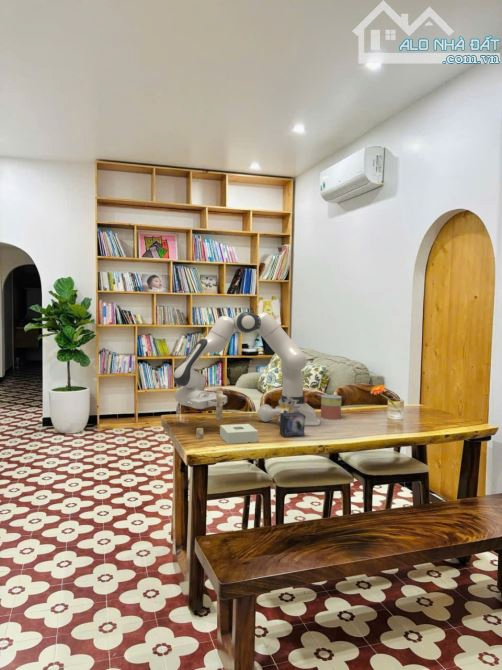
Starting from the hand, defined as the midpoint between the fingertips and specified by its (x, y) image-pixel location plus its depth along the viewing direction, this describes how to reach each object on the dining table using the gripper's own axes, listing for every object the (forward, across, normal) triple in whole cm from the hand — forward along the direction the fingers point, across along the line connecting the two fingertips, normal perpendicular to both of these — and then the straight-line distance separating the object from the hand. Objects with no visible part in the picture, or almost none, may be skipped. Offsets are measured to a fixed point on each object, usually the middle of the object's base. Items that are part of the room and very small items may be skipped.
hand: (220, 403), depth 228 cm
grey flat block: (+12, 0, +14) cm, 19 cm away
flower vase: (+8, +34, +15) cm, 38 cm away
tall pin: (-1, 0, +8) cm, 8 cm away
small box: (+25, +23, +15) cm, 37 cm away
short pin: (-1, -12, +14) cm, 19 cm away
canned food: (+19, +70, +16) cm, 74 cm away
